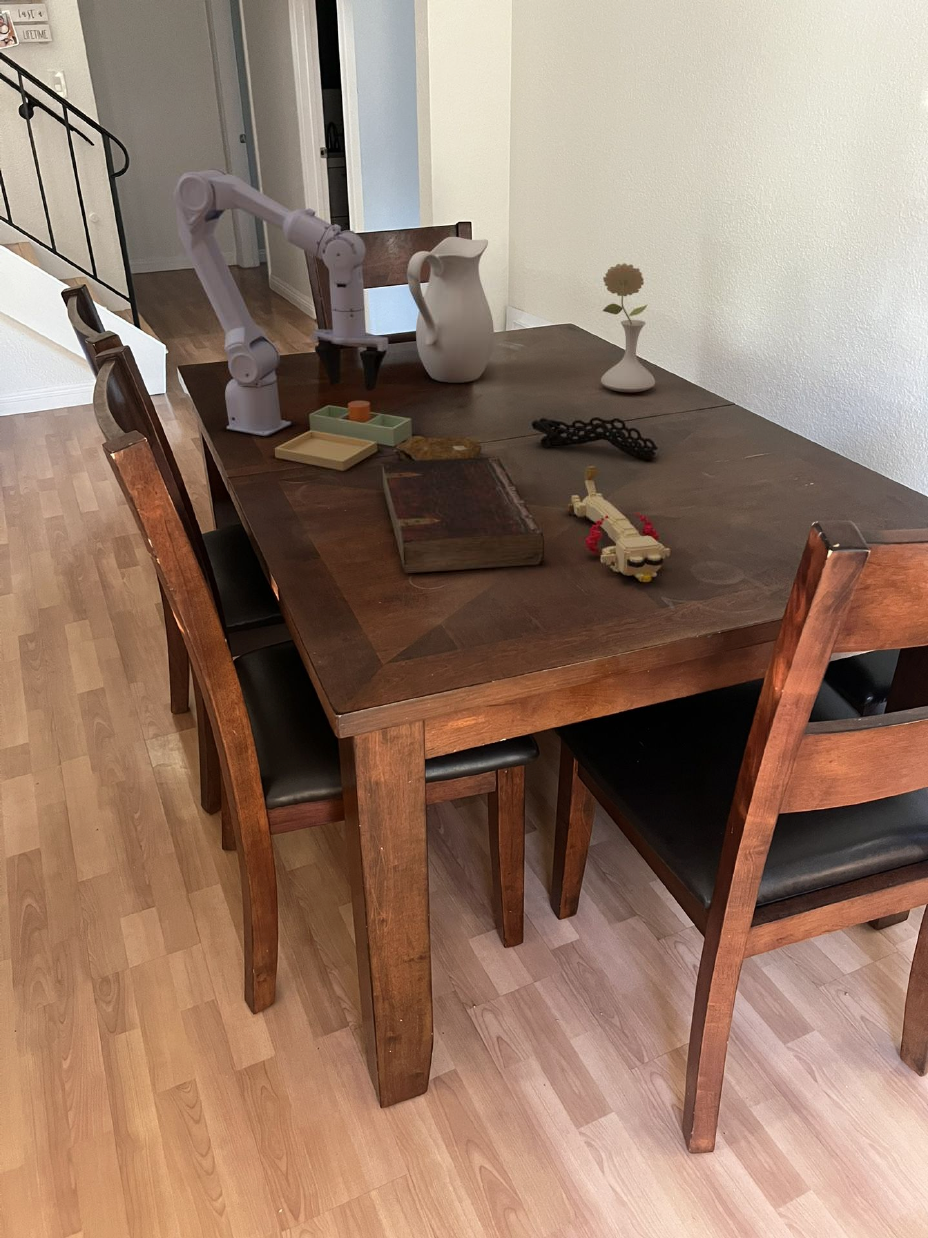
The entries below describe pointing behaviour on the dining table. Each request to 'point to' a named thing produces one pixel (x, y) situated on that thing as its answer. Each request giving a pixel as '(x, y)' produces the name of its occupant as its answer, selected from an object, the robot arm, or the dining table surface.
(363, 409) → the orange cylinder
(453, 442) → the decorative rock
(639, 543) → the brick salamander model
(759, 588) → the dining table surface
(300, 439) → the birch tray
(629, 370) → the flower in vase
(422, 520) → the hardback book
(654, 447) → the decorative element
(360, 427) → the green compartment tray
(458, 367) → the pitcher
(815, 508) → the dining table surface
